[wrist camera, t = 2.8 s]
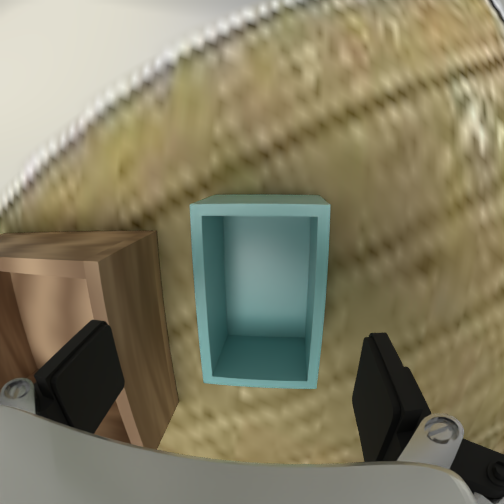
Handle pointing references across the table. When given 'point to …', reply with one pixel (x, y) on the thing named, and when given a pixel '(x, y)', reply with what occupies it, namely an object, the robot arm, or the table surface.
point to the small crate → (260, 287)
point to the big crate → (91, 317)
